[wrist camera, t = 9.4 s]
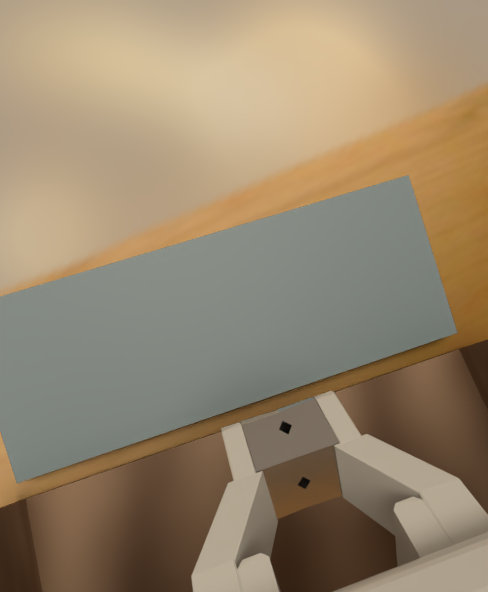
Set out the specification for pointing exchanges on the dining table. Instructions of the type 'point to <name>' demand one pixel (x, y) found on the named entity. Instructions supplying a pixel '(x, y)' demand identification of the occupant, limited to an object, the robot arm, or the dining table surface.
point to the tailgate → (214, 325)
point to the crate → (217, 474)
